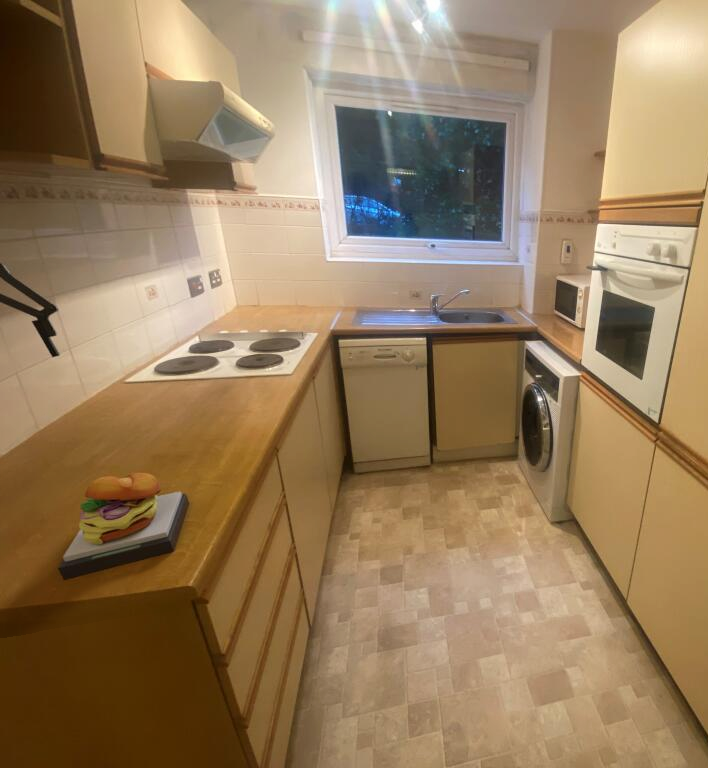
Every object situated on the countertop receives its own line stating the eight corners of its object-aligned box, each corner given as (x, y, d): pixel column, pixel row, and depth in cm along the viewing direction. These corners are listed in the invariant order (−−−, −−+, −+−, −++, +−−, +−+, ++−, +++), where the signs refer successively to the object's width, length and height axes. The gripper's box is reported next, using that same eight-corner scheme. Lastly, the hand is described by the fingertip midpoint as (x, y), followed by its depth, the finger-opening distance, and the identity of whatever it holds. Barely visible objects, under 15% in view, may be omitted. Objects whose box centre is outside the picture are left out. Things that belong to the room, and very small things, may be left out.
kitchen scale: (63, 579, 67) (55, 563, 66) (96, 524, 78) (89, 508, 77) (173, 551, 72) (168, 535, 71) (189, 503, 84) (184, 488, 83)
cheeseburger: (61, 544, 69) (53, 484, 67) (129, 515, 79) (123, 462, 78) (115, 551, 67) (109, 490, 66) (177, 520, 78) (173, 467, 76)
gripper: (36, 230, 76) (98, 345, 83) (-205, 258, 61) (-105, 395, 68) (28, 222, 70) (96, 346, 77) (-239, 251, 56) (-127, 401, 62)
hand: (2, 369), depth 72 cm, fingers open, 13 cm apart
